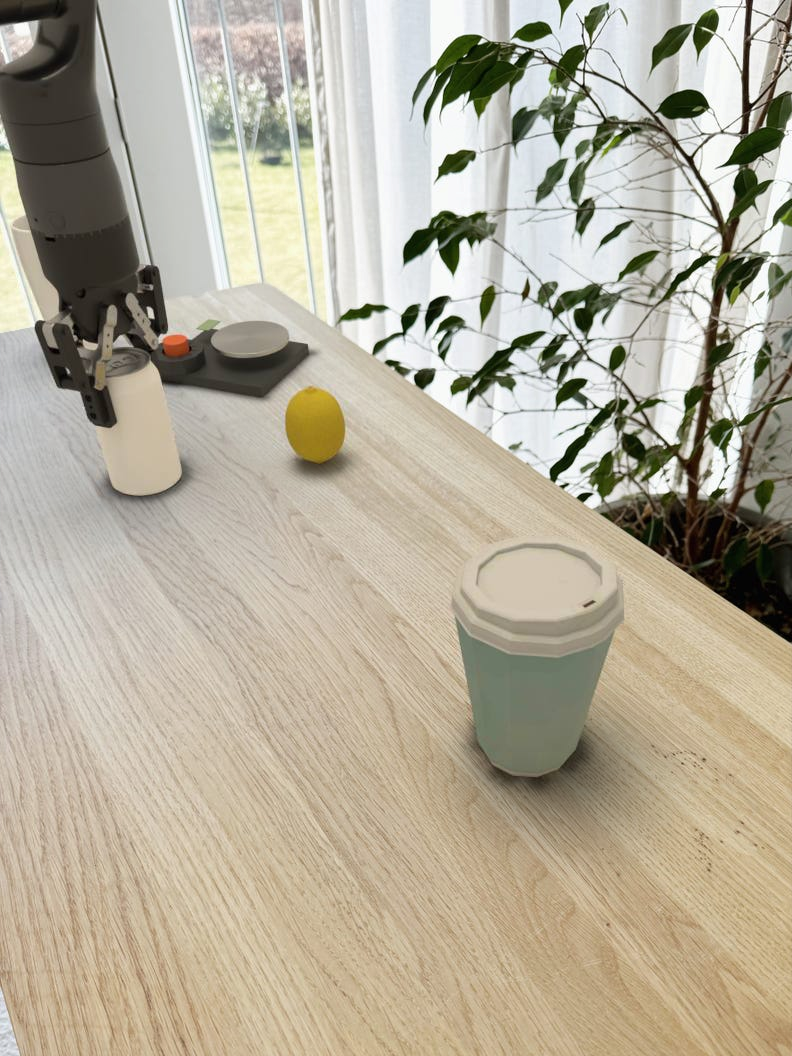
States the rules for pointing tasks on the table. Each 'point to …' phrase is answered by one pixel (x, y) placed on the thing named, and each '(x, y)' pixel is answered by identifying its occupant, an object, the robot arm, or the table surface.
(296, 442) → the lemon
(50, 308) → the drinking glass
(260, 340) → the weighing pan
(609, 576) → the disposable coffee cup
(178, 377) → the scale
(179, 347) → the tare button
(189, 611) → the table surface
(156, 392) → the can
